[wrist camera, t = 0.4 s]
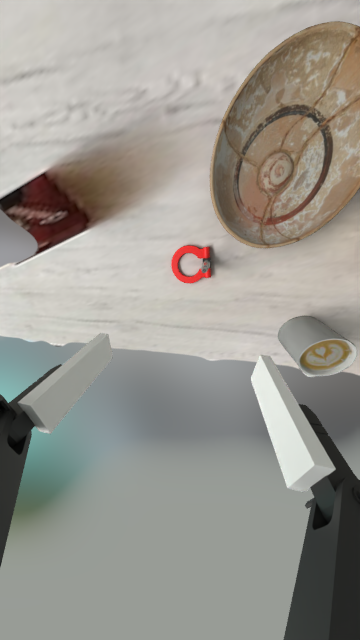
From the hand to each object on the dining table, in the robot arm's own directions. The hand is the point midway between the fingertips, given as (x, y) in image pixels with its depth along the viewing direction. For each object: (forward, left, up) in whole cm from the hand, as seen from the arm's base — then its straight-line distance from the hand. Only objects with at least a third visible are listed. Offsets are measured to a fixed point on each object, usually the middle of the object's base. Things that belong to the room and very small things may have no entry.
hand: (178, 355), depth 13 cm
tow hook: (-4, -2, -28) cm, 28 cm away
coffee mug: (+13, +28, -28) cm, 41 cm away
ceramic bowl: (-20, +12, -28) cm, 37 cm away
